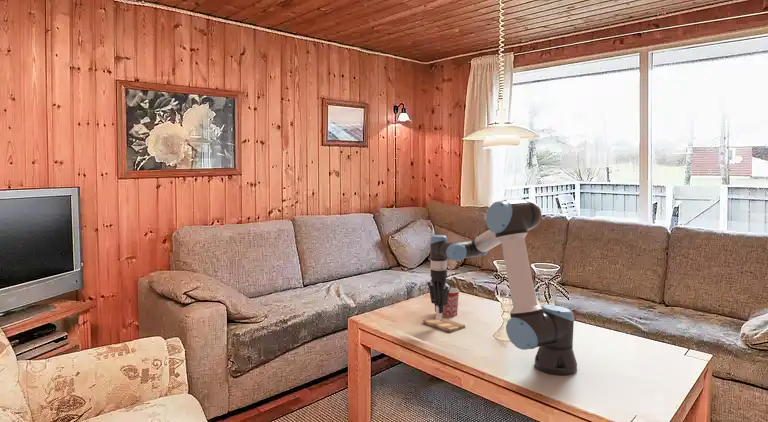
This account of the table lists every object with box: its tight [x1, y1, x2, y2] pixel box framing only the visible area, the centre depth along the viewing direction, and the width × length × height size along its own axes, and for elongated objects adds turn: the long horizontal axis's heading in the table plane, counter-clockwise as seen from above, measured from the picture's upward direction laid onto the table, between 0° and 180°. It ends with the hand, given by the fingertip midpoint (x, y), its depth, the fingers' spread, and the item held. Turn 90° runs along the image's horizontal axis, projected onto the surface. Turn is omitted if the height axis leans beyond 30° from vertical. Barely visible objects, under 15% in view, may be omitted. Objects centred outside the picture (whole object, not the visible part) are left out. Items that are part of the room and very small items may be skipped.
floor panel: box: [421, 316, 467, 334], centre depth 233 cm, size 18×11×2 cm, turn 40°
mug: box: [442, 287, 460, 318], centre depth 249 cm, size 13×9×14 cm
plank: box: [422, 317, 460, 332], centre depth 231 cm, size 17×6×1 cm, turn 40°
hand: (439, 319), depth 230 cm, fingers closed
